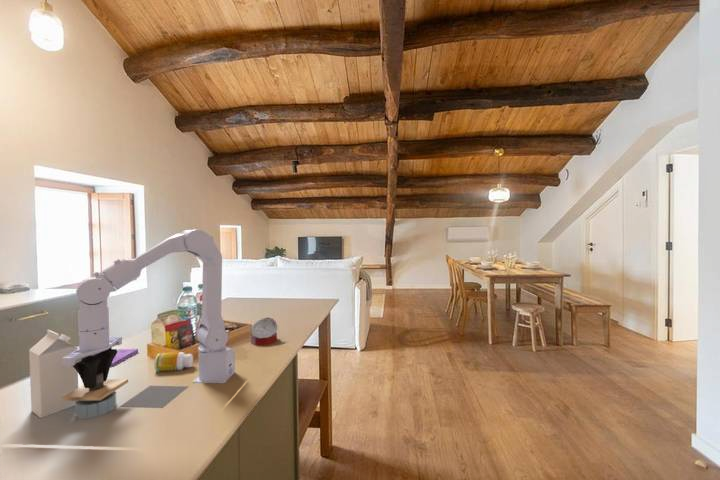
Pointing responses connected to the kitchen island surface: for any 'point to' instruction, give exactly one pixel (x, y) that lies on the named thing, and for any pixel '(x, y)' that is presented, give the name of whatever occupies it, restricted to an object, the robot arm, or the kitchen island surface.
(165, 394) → the rubber mat
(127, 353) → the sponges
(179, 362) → the supplement bottle
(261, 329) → the canned food
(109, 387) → the oak lid
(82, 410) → the ceramic bowl
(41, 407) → the milk carton
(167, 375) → the kitchen island surface
